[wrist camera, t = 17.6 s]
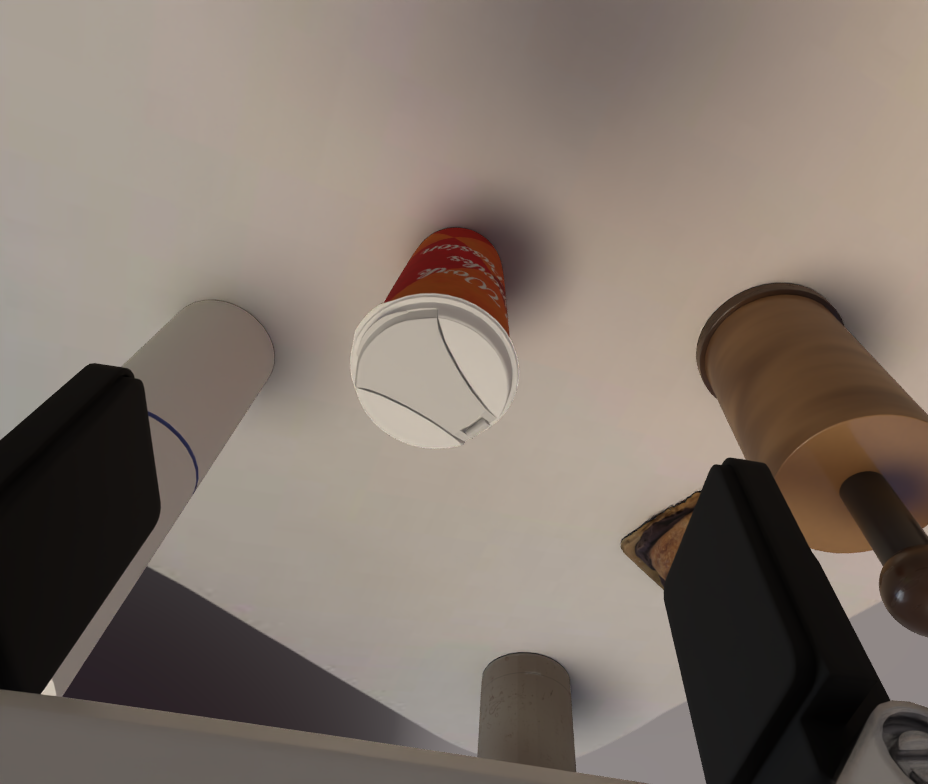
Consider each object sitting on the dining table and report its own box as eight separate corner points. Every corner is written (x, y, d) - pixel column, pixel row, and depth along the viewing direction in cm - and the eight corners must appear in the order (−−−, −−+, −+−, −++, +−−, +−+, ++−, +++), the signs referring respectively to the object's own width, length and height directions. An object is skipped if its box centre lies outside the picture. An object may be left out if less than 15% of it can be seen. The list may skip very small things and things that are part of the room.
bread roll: (674, 596, 54) (684, 634, 51) (612, 536, 51) (617, 572, 48) (797, 535, 50) (815, 573, 47) (736, 466, 47) (751, 501, 44)
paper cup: (546, 276, 41) (555, 395, 29) (455, 349, 44) (430, 485, 32) (457, 179, 38) (428, 266, 26) (367, 264, 41) (305, 377, 29)
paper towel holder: (721, 272, 40) (892, 519, 22) (864, 294, 40) (1157, 558, 22) (679, 394, 45) (790, 685, 26) (807, 413, 45) (1010, 717, 26)
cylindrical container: (288, 329, 44) (70, 649, 23) (257, 409, 48) (42, 752, 26) (183, 281, 43) (-152, 572, 22) (159, 367, 46) (-150, 690, 25)
